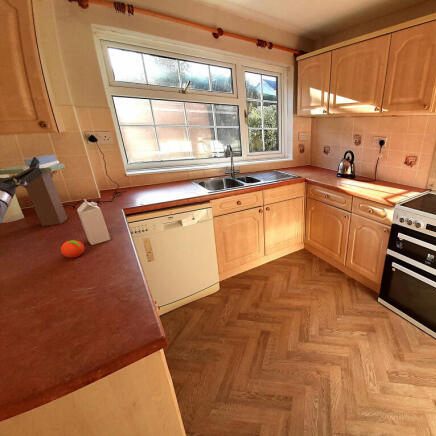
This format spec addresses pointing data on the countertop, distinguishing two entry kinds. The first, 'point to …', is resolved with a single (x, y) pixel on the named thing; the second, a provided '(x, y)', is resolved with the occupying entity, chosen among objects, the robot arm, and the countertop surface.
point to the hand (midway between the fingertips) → (16, 160)
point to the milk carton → (93, 223)
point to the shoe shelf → (43, 195)
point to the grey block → (42, 161)
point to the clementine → (72, 248)
